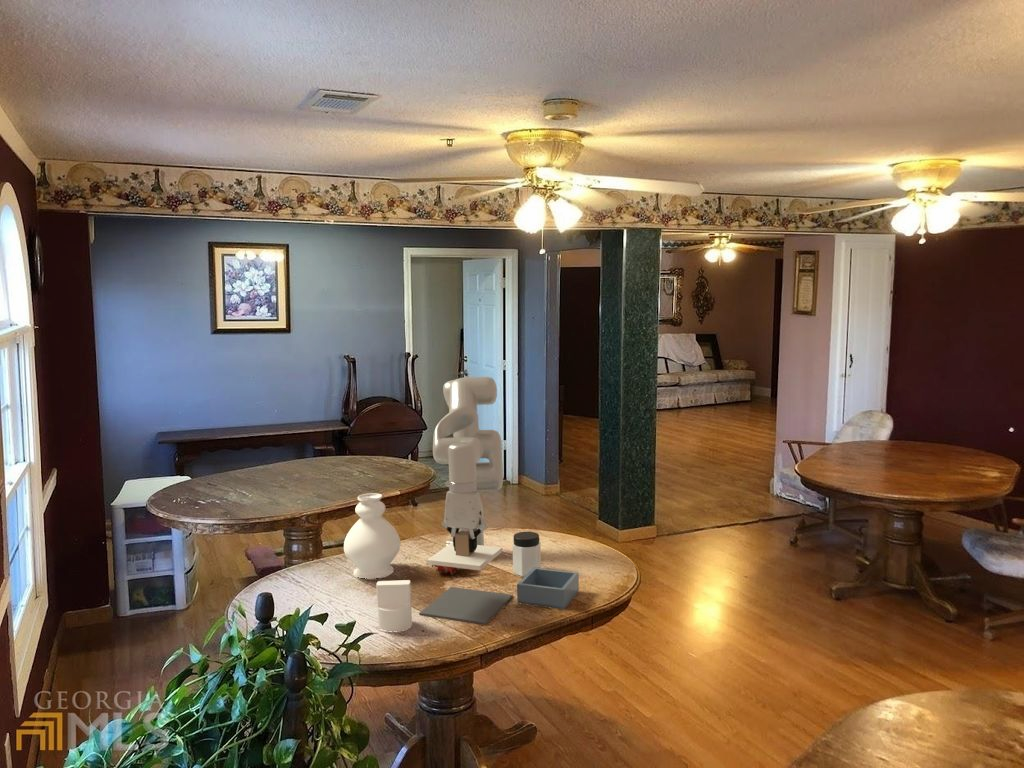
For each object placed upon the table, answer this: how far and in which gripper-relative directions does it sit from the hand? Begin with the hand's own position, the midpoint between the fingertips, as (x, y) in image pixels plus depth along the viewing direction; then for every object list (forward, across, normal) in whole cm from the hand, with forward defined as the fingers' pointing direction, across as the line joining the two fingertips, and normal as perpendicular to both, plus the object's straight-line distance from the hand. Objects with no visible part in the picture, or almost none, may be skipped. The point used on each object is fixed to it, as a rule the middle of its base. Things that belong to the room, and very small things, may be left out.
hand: (465, 549), depth 222 cm
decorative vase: (+16, -40, +15) cm, 46 cm away
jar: (+17, +7, +30) cm, 35 cm away
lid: (+2, 0, 0) cm, 2 cm away
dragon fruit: (+17, -16, +22) cm, 32 cm away
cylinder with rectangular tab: (+17, -13, -18) cm, 28 cm away
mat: (+16, 0, 0) cm, 16 cm away
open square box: (+17, +20, +13) cm, 29 cm away
